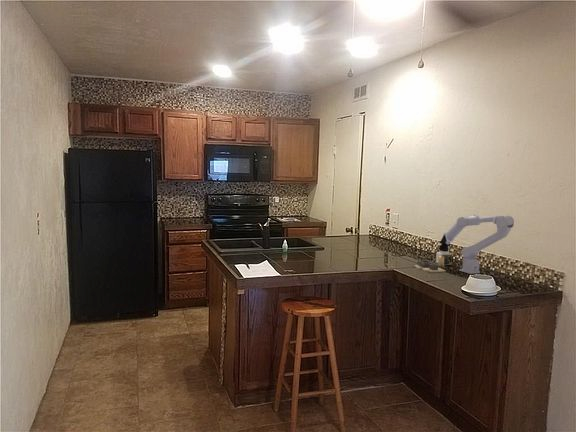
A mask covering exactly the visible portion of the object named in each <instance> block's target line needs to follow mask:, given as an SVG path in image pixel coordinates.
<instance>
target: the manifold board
mask: <svg viewBox="0 0 576 432" xmlns="http://www.w3.org/2000/svg"><path fill="white" fill-rule="evenodd" d="M412 267H413V268H416V269H419V270H421V271H424V272H427V273H430V274H431V273H445V272H446V269H444V268H438V263H436V262H435V263H434V261H431V260H427V259H422V260H421V259H420V260H417V263H416V264H413V266H412Z"/></svg>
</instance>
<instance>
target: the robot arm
mask: <svg viewBox="0 0 576 432" xmlns="http://www.w3.org/2000/svg"><path fill="white" fill-rule="evenodd" d="M481 223H493V224H494V225H496V230H497V231H495V233H493V234H491V235H489V236H488V237H486V238H483V239H482V240H480V241H478V242H476V243H475V244H472V245H469V246H467V247H466V246H465V247H463V248H461V255H462V269H461V268H460V269H459V271H460V272H462V273H463V272H464V273H467V274H469V275H473V274H480V273H481V272H480V265H481V264H480V263H481V262H480V260H478V259H477V255H478V254H479V253H480V252H481V251H482V250H484V249H487V248H488V247H490V246H491V245H493V244H496V243H497V242H499V241H501V240H503V239H505V238H507V236H508V235H509V233H510V231H511V230H512V229H513V228H514V225H515V220H514V218H513V216H511V215H490V216H489V215H488V216H479V215H477V214H472V216H470V215H465V216H460V217H457V219H456V222H455V223H454V224H453V225H452V227H451V228H450V229H449V230H448V231H447V232H443V236H442V238H441V240H439V243H440V245H439V246H438V249H439V250H443V249H444V248H446V247H449V248H450V247H451V242H453V241H454V239H455V238H456V237H457V236H458V235H459V234H460V233H461V232H462V231H463V230H464V229H465V228H466V227H469V226H470V227H472V226H479V225H481Z"/></svg>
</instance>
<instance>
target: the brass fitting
mask: <svg viewBox="0 0 576 432" xmlns="http://www.w3.org/2000/svg"><path fill="white" fill-rule="evenodd" d="M437 264H438V268H441V269H444V267H445V265H444V257H443V256H439V257H438V263H437Z"/></svg>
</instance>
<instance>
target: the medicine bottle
mask: <svg viewBox="0 0 576 432" xmlns="http://www.w3.org/2000/svg"><path fill="white" fill-rule="evenodd" d="M439 256H443V257H444V266H448V265H452V253H450V246H449V247H446V248H444V249H443V250H440V249H439V251H437V252H436V257H435V264H438V257H439Z"/></svg>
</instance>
